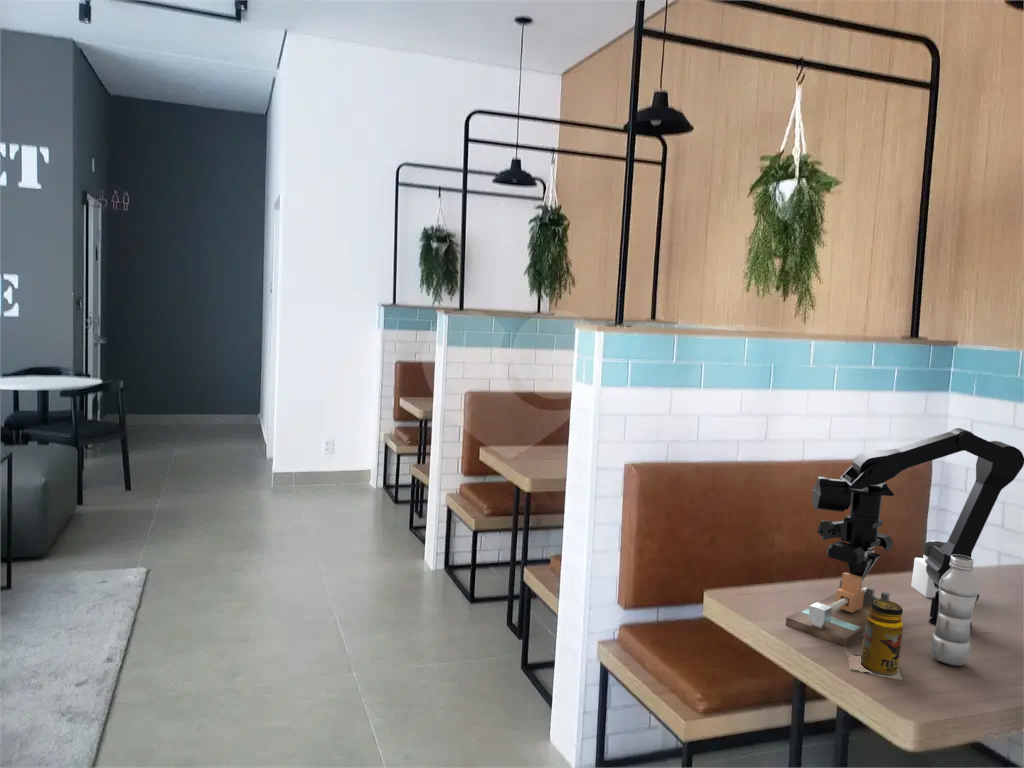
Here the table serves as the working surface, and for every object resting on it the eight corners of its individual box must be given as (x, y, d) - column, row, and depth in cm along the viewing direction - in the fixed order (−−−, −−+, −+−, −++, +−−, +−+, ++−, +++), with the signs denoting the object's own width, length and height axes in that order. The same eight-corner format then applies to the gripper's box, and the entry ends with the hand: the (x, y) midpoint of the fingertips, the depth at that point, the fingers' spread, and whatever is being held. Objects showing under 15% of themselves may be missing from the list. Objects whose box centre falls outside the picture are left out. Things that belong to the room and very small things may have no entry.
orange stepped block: (862, 606, 165) (866, 575, 164) (852, 612, 162) (856, 580, 161) (845, 601, 168) (849, 570, 167) (835, 606, 164) (838, 575, 164)
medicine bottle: (957, 600, 179) (964, 548, 178) (925, 598, 179) (932, 546, 178) (940, 588, 186) (947, 539, 185) (910, 586, 186) (916, 536, 185)
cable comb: (887, 609, 167) (889, 593, 166) (885, 610, 166) (887, 594, 165) (840, 594, 174) (842, 579, 173) (838, 595, 173) (840, 580, 172)
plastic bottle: (958, 655, 150) (972, 553, 147) (975, 672, 143) (990, 565, 141) (922, 651, 150) (935, 550, 148) (937, 668, 144) (952, 562, 141)
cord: (868, 593, 170) (869, 588, 170) (826, 615, 156) (826, 609, 156) (862, 592, 171) (863, 586, 170) (820, 613, 157) (820, 607, 157)
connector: (829, 626, 156) (831, 607, 155) (822, 630, 154) (824, 610, 153) (814, 621, 158) (817, 602, 157) (807, 625, 156) (810, 605, 155)
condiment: (902, 680, 138) (910, 614, 137) (849, 670, 141) (857, 606, 139) (895, 662, 145) (903, 600, 144) (845, 653, 147) (853, 591, 146)
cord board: (892, 617, 166) (893, 610, 166) (844, 646, 150) (845, 638, 150) (836, 599, 175) (837, 592, 175) (785, 624, 159) (786, 616, 159)
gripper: (846, 498, 177) (838, 566, 178) (806, 510, 164) (798, 583, 166) (897, 511, 169) (888, 581, 170) (860, 524, 156) (850, 600, 158)
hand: (855, 586), depth 166 cm, fingers closed
